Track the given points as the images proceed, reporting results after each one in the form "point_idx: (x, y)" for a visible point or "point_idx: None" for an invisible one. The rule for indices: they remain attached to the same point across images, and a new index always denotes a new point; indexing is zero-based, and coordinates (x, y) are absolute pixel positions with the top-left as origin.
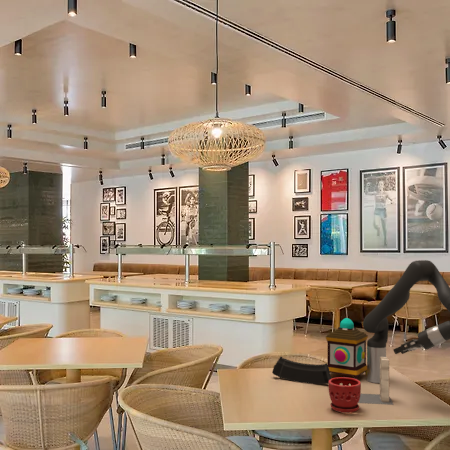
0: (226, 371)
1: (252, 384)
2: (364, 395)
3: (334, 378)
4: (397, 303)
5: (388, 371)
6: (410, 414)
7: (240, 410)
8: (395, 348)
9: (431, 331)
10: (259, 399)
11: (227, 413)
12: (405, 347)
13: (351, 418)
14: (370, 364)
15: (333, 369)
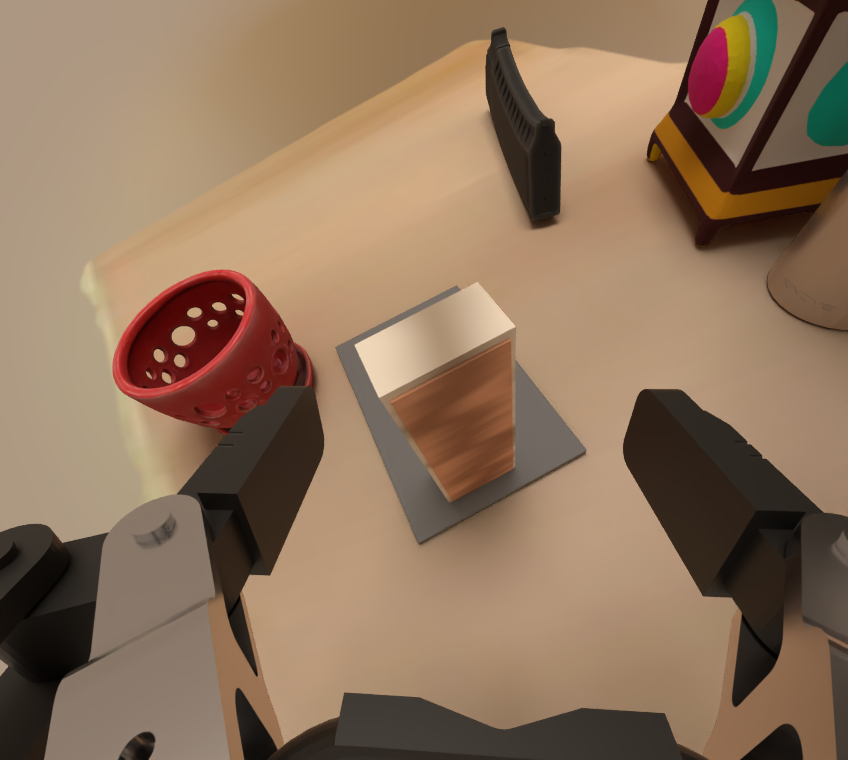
0: (467, 49)
1: (393, 127)
2: None
3: (224, 275)
4: None
5: (408, 440)
6: (319, 685)
7: (174, 228)
8: (264, 405)
9: None
10: (273, 203)
11: (148, 227)
12: (714, 475)
13: (176, 456)
14: (836, 195)
15: (672, 139)
